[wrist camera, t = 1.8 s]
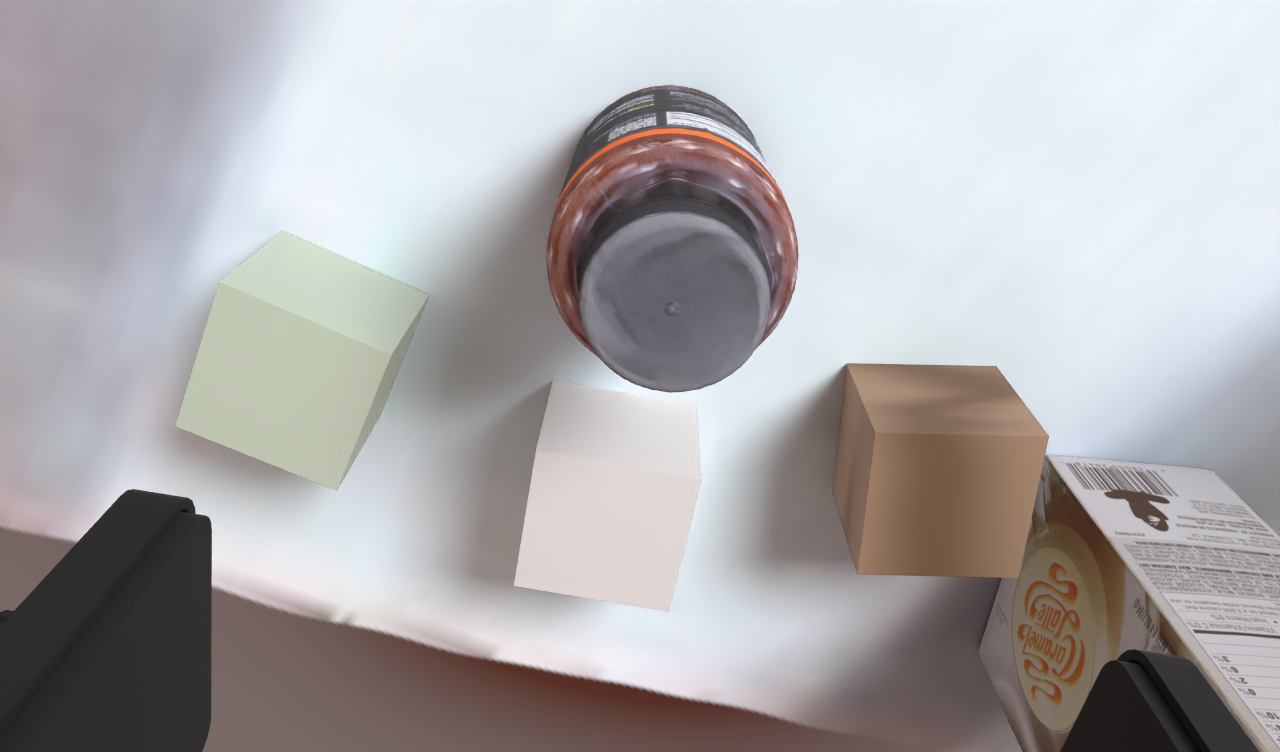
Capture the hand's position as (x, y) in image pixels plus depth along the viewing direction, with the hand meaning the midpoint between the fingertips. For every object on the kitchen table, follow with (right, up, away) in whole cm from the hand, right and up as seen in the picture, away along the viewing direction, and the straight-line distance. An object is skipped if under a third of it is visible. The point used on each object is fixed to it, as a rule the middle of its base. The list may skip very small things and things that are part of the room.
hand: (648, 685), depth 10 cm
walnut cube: (+9, +1, +24) cm, 25 cm away
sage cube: (-10, +5, +22) cm, 25 cm away
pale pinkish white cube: (-1, 0, +24) cm, 24 cm away
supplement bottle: (+1, +9, +20) cm, 22 cm away
